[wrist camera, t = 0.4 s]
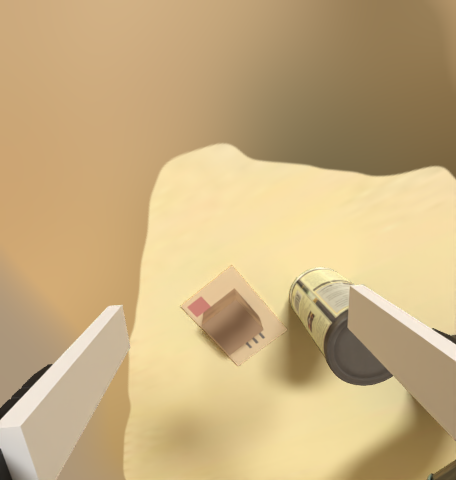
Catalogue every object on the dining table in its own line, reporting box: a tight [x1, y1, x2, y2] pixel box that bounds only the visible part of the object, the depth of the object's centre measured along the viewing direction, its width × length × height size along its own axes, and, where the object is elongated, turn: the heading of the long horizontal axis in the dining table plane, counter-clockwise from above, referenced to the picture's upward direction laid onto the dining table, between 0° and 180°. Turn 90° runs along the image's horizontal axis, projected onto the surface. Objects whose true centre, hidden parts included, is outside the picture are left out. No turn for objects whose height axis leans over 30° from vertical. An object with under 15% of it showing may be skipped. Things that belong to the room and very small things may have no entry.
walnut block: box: [202, 288, 264, 355], centre depth 37 cm, size 7×7×4 cm
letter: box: [181, 265, 287, 366], centre depth 39 cm, size 16×12×1 cm
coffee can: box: [290, 267, 393, 386], centre depth 32 cm, size 10×10×14 cm
